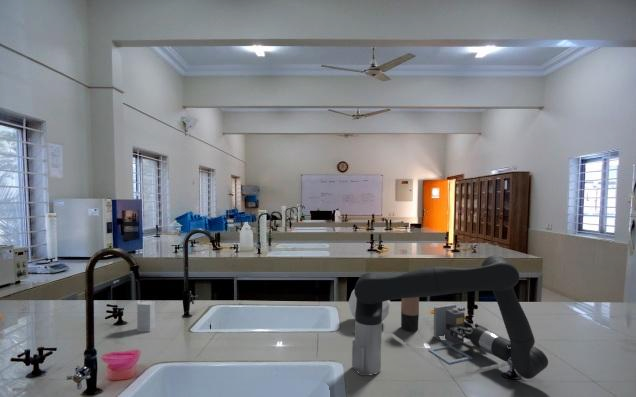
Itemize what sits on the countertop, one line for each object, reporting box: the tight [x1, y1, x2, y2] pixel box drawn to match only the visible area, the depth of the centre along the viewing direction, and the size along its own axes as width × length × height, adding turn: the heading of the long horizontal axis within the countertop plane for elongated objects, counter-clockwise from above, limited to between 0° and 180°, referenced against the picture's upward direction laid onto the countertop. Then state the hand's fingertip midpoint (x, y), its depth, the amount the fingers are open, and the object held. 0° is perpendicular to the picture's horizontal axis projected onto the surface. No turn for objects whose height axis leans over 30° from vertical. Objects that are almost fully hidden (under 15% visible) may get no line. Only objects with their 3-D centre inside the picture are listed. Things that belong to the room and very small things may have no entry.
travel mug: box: [400, 297, 420, 333], centre depth 151 cm, size 8×8×20 cm
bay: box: [433, 303, 470, 346], centre depth 141 cm, size 11×9×14 cm
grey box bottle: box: [445, 307, 466, 345], centre depth 140 cm, size 5×5×13 cm
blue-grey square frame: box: [427, 344, 473, 365], centre depth 128 cm, size 11×11×2 cm
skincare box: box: [136, 300, 156, 333], centre depth 149 cm, size 6×4×12 cm
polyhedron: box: [347, 289, 391, 322], centre depth 161 cm, size 19×20×20 cm
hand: (454, 324), depth 140 cm, fingers open, 8 cm apart
